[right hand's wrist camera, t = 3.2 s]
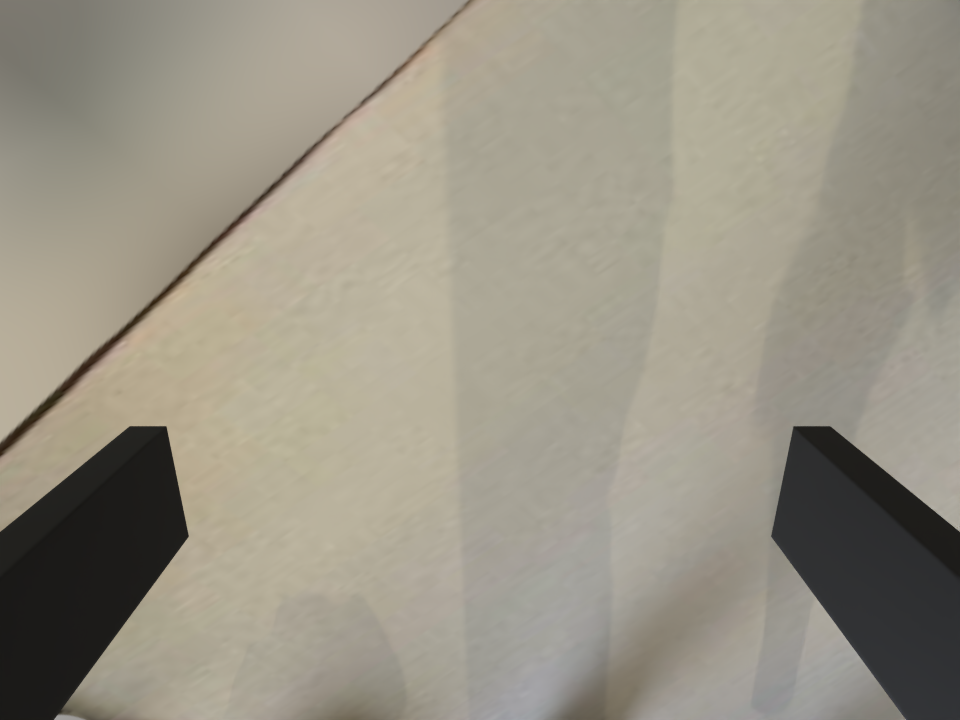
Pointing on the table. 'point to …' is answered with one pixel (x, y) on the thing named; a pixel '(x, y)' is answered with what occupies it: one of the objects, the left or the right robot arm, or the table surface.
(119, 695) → the table surface
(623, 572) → the table surface
